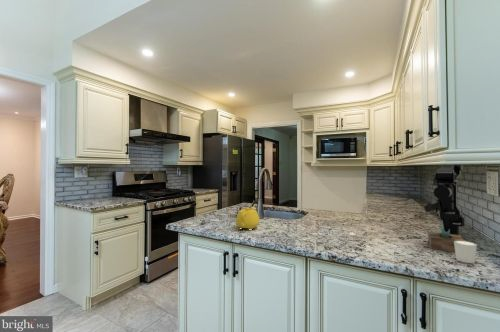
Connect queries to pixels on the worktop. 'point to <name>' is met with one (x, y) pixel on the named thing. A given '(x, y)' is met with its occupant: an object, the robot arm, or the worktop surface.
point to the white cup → (465, 251)
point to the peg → (443, 233)
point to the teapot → (247, 218)
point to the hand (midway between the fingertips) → (445, 230)
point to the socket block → (443, 241)
